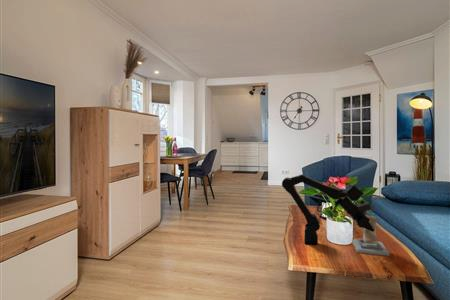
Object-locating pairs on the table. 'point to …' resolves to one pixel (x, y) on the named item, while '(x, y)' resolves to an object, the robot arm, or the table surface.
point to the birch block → (370, 232)
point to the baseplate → (370, 247)
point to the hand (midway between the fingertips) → (372, 229)
